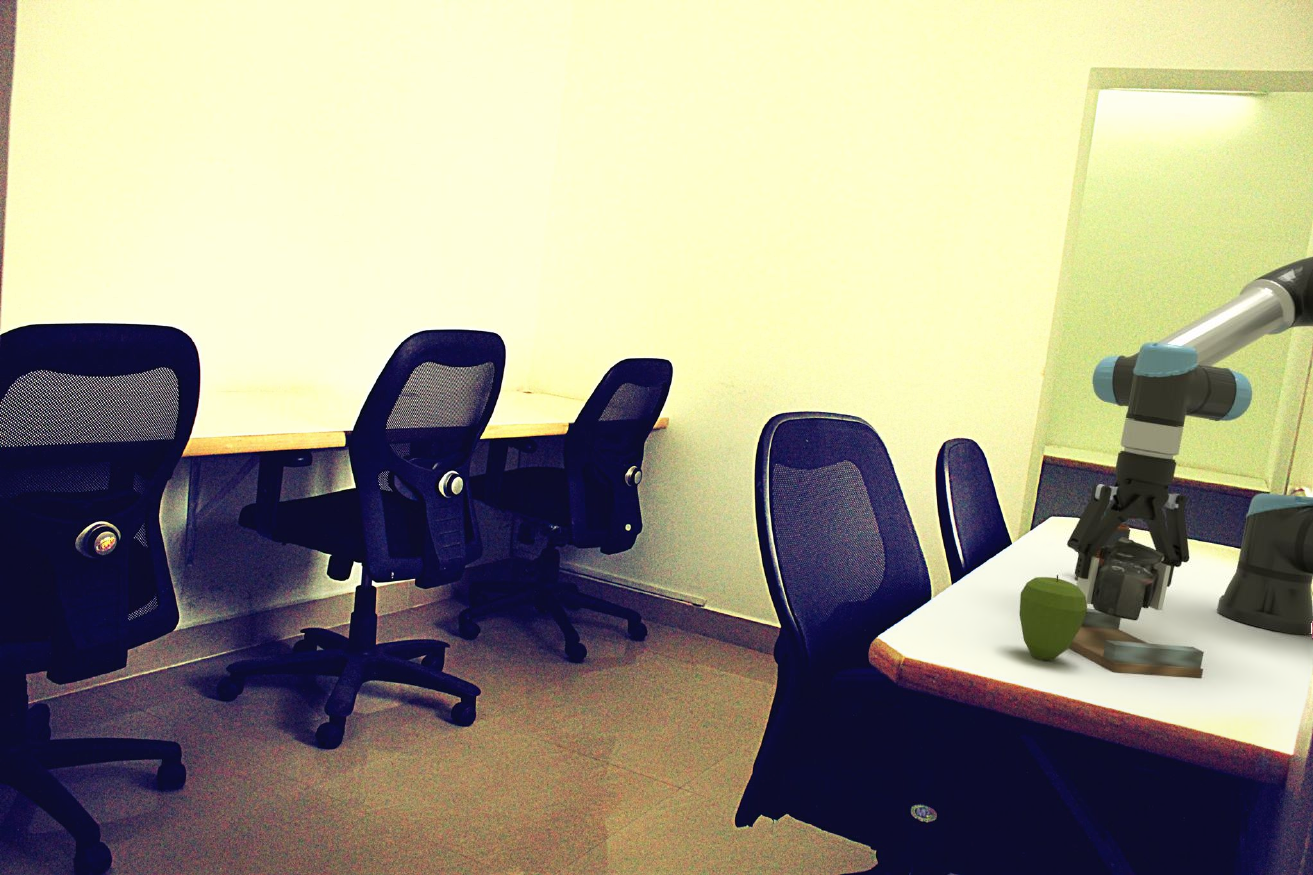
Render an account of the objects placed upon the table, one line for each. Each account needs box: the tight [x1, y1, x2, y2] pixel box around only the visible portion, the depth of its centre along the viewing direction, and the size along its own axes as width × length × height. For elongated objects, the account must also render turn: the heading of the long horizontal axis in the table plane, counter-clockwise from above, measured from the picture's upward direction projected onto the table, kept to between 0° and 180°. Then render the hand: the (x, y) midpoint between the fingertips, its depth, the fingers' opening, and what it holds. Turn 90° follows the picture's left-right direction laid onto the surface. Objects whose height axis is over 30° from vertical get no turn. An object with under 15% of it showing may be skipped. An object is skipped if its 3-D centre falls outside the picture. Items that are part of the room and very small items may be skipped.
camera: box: [1090, 538, 1164, 622], centre depth 150 cm, size 13×10×10 cm
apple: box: [1019, 574, 1088, 661], centre depth 141 cm, size 9×8×12 cm
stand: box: [1068, 607, 1205, 679], centre depth 151 cm, size 14×20×4 cm
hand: (1118, 604), depth 151 cm, fingers closed on camera, 11 cm apart
